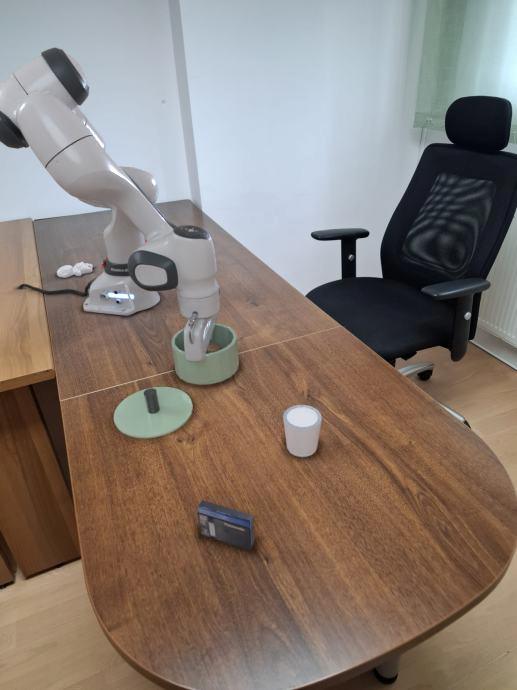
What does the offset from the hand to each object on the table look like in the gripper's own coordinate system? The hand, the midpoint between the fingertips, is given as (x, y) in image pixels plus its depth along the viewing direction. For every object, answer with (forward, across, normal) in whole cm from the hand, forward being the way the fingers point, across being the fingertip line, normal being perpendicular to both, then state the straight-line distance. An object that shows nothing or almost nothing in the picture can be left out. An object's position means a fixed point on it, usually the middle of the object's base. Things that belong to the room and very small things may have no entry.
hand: (205, 356), depth 107 cm
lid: (+3, -17, +8) cm, 19 cm away
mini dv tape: (+3, -45, -11) cm, 46 cm away
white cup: (+3, -25, -22) cm, 34 cm away
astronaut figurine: (+4, +58, +57) cm, 81 cm away
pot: (+3, 0, 0) cm, 3 cm away
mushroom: (+2, 0, 0) cm, 2 cm away
